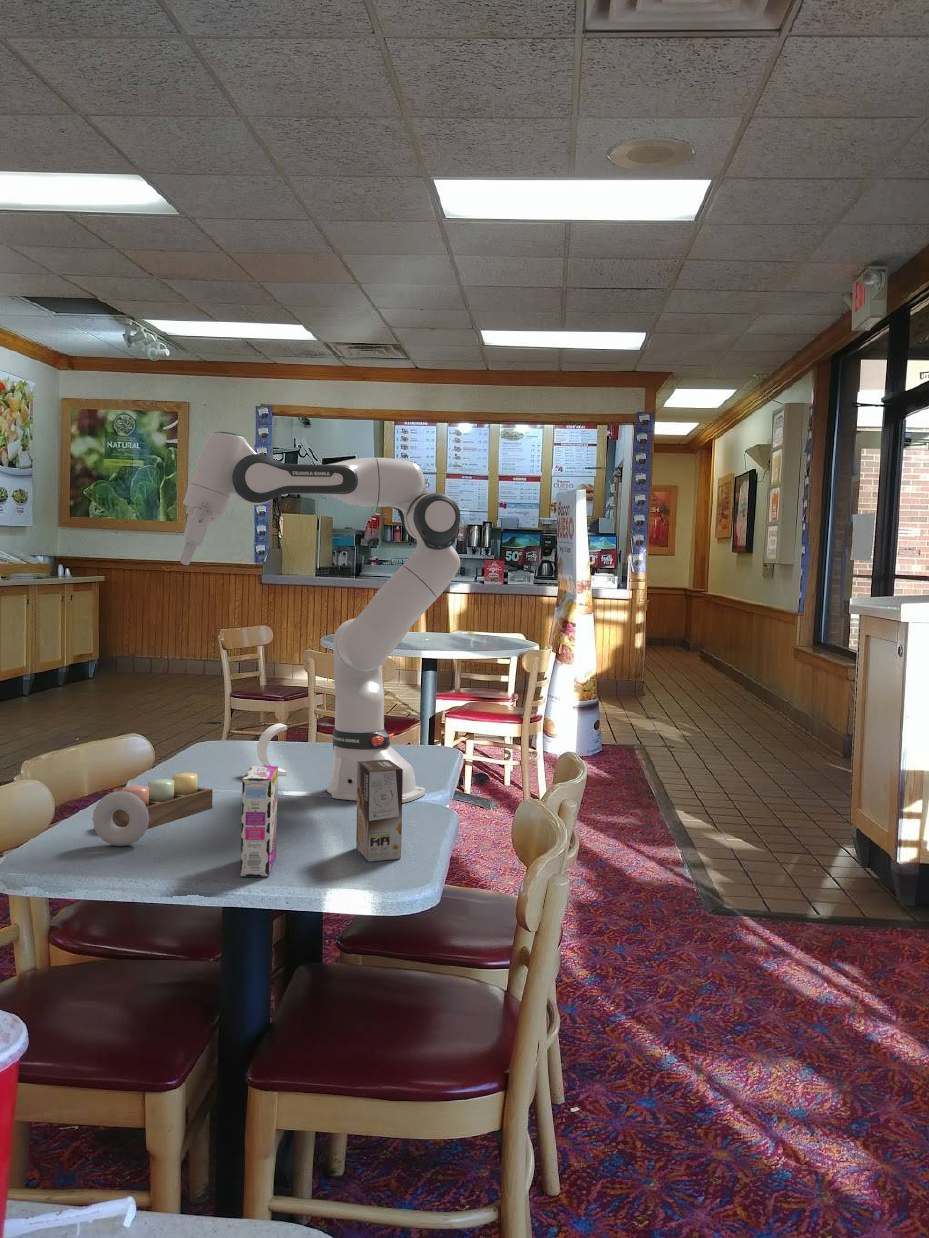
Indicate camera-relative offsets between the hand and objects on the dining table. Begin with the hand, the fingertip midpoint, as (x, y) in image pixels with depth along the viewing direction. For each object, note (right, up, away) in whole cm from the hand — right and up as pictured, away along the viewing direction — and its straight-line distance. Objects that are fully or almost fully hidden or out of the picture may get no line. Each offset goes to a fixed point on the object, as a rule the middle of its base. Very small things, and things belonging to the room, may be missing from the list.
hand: (184, 564), depth 207 cm
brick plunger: (-4, -49, -20) cm, 53 cm away
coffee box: (+45, -54, -35) cm, 78 cm away
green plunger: (-1, -48, -14) cm, 51 cm away
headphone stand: (+13, -50, +27) cm, 58 cm away
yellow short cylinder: (+3, -48, -8) cm, 49 cm away
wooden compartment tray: (-1, -52, -14) cm, 54 cm away
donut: (-2, -53, -34) cm, 63 cm away
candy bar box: (+26, -54, -44) cm, 74 cm away
